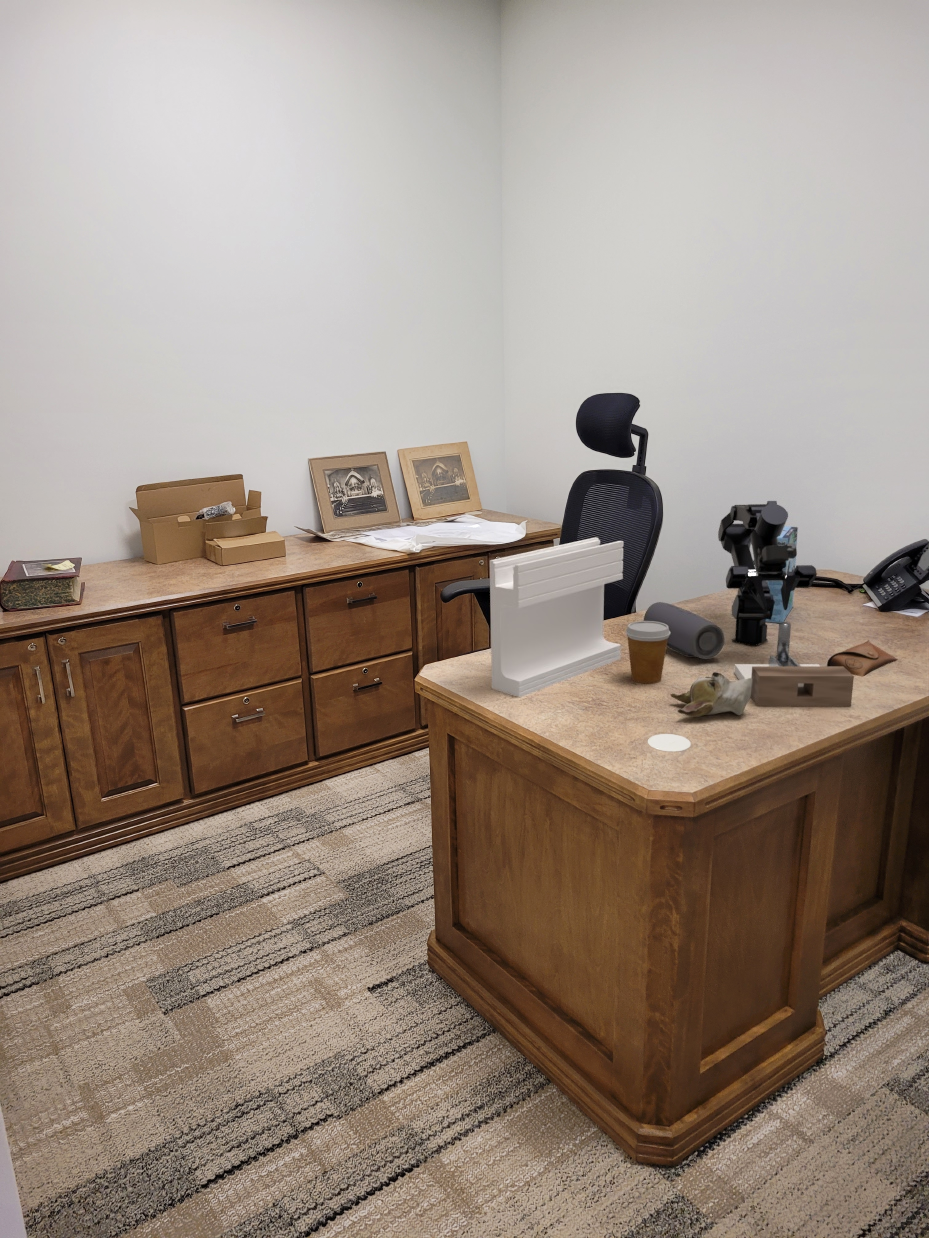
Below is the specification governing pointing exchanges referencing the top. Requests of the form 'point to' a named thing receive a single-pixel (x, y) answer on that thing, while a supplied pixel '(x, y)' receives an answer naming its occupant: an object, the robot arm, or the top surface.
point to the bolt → (783, 643)
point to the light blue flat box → (775, 586)
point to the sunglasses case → (861, 659)
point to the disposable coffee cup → (647, 650)
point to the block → (551, 614)
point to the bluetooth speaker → (687, 631)
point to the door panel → (746, 669)
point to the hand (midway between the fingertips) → (775, 609)
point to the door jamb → (817, 691)
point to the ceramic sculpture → (715, 696)
